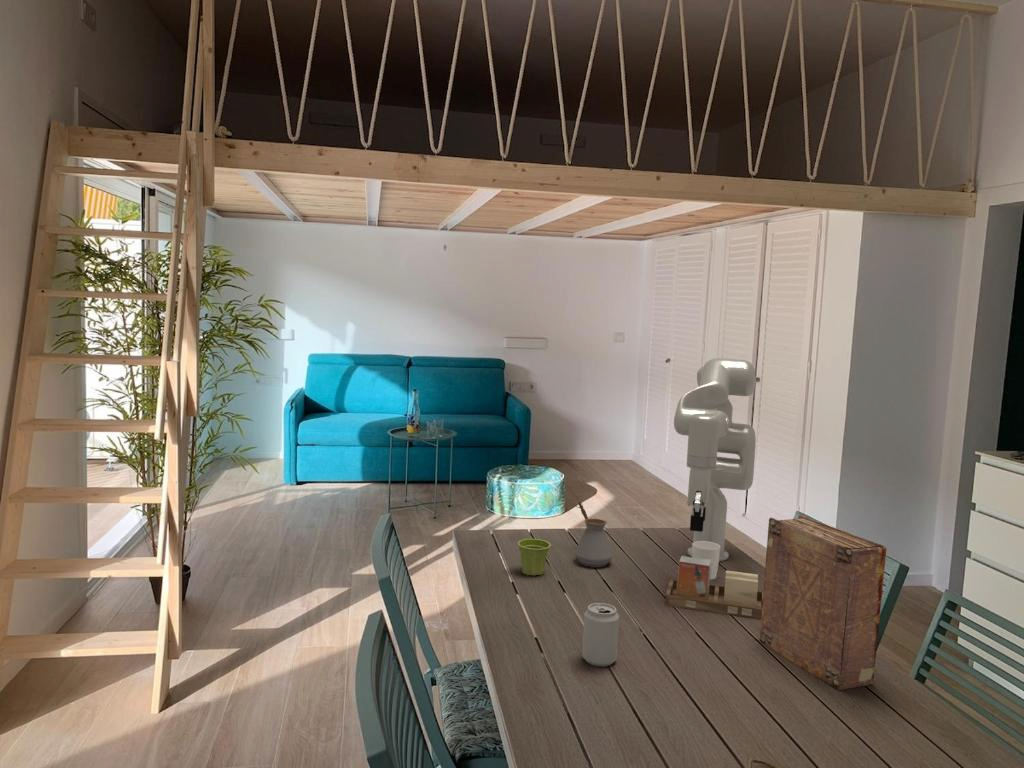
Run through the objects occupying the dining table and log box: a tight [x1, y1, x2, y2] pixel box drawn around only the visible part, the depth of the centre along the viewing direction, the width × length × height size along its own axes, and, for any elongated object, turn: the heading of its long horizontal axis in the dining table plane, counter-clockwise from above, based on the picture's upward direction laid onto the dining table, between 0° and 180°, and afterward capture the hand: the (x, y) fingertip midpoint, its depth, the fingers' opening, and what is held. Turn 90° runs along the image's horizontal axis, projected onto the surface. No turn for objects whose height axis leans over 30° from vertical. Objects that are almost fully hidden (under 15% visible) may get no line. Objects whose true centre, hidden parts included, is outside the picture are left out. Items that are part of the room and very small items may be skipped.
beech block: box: [724, 570, 759, 607], centre depth 207 cm, size 6×8×8 cm
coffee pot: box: [574, 502, 614, 568], centre depth 244 cm, size 21×12×15 cm, turn 14°
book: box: [759, 515, 887, 691], centre depth 177 cm, size 25×9×30 cm, turn 22°
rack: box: [664, 578, 764, 620], centre depth 209 cm, size 14×25×4 cm, turn 74°
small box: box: [676, 555, 711, 600], centre depth 211 cm, size 8×6×10 cm
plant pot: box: [517, 538, 552, 576], centre depth 229 cm, size 9×9×9 cm
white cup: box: [691, 541, 720, 581], centre depth 230 cm, size 8×8×10 cm
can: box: [581, 602, 620, 667], centre depth 174 cm, size 8×8×12 cm
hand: (697, 525), depth 209 cm, fingers open, 9 cm apart
